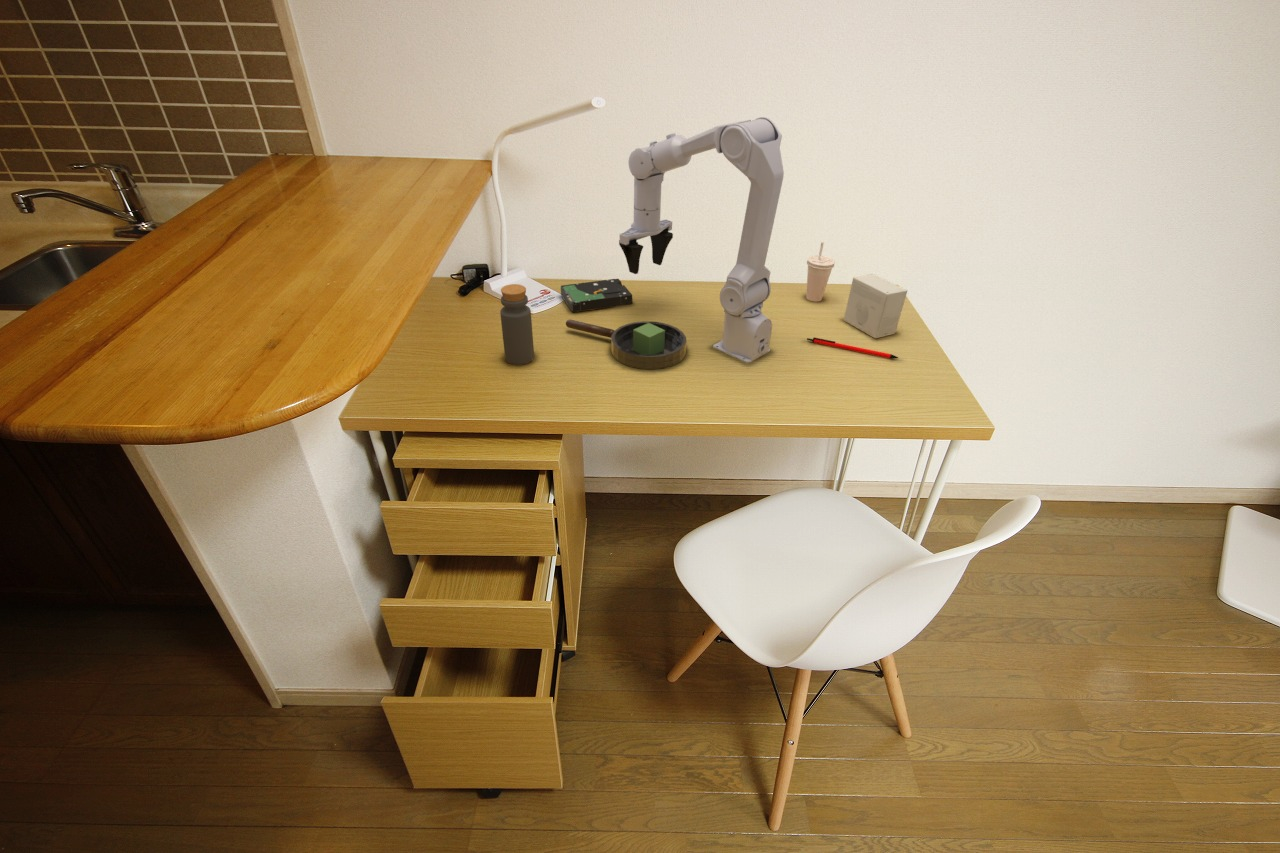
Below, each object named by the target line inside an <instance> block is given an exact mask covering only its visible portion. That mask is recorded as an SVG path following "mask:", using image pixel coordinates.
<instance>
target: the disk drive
mask: <svg viewBox="0 0 1280 853" xmlns="http://www.w3.org/2000/svg"><path fill="white" fill-rule="evenodd" d="M560 295H561V297H562V299H563V300H564V302H565V304H566V305H567V306H568V309H570V311H571V312H575V313H579V312H585V311H593V310H598V309H599V310H600V309H607V308H614V307H620V306H627V305H631V304H633V294H632V292H631V291H630V290H629V289H628V288H627V287H626V285H624V284H622V281H621V280H620V279H619V278H610V279H604V280H596V281H588V282H579V283H570V284H563V285H560Z"/></svg>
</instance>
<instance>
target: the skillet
mask: <svg viewBox="0 0 1280 853" xmlns="http://www.w3.org/2000/svg"><path fill="white" fill-rule="evenodd" d="M647 323H650V324H653V325H655V326H657V327H659V328H661V329H663V330H665V339H664V351H662V352H660V353H658V354H656V355H642V354H640V353H638V352H636V351H634V350H633V330H634V329H636V328H638V327H641V326H643V325H645V324H647ZM610 352H611V355H612V356H613V358H614V359H615V360H616V361H617V362H618V363H620V364H623V365H624V366H627V367H630V368H633V369H634V368H635V369H639V370H661V369H666V368H669V367H673V366H676V365H677V364H679V363H680V362H681V361H682V360H684V359H685V356H686V353H687V336H686V335H685V333H684V332H683V331H682V330H681V329H679V328H678V327H675V326H673V325H671V324H668V323H665V322H659V321H652V320H651V321H649V320H646V321H645V320H643V321H633V322H629V323H626V324H623V325H621V326H618V328H616V329H615V330H614V332H613V334H612V336H611V338H610Z"/></svg>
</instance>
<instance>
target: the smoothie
mask: <svg viewBox="0 0 1280 853" xmlns="http://www.w3.org/2000/svg"><path fill="white" fill-rule="evenodd" d="M824 244H825V242H823V241H822V242H820V247H819V253H818V255H812V256H811V255H810V256H809V257H808V258H807V261H806V265H807V274H806V275H807V276H806V295H805V296H806V298H805V299H806V300H808V301H809V302H814V303H815V302H817V303H818V302H821V301H822V300H823V297H824V294H825V291H826V288H827V284H828V282H829V279H830V276H831V274H832V270H833V268H835V263H836V262H835V259H833V258H831V257H829V256H825V255H822V254H823V248H824Z"/></svg>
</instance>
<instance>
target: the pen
mask: <svg viewBox="0 0 1280 853" xmlns="http://www.w3.org/2000/svg"><path fill="white" fill-rule="evenodd" d="M806 340H807V341H809V342H812V343H814V344H819V345H824V346H829V347H833V348H838V349H844V350H848V351H853V352H858V353H862V354H866V355H867V354H868V355H872V356H877V357H882V358H886V359H899V356H897V355H894V354H891V353H888V352H883V351H878V350H874V349H868V348H862V347H858V346H854V345H849V344H844V343H839V342H836V341H835V340H829V339H824V338H820V337H813V338H809V337H807V338H806Z"/></svg>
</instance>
